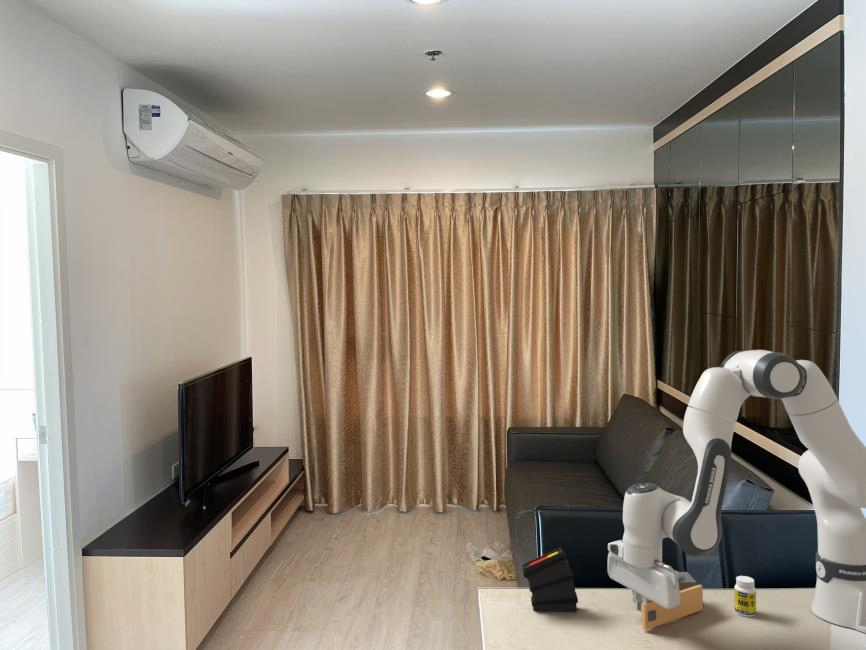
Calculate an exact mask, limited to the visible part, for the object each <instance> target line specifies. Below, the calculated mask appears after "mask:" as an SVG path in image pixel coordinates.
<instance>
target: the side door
mask: <svg viewBox="0 0 866 650" xmlns="http://www.w3.org/2000/svg"><path fill="white" fill-rule="evenodd" d="M703 597H704V595H703V584H697V585H696V586H693V587H690V588H687V589H684V590H681V591H680V604H679V605H678V606H677V607H675V608H671V609H666V608H664V607H662V606H661V605H659V604H657V603H655V602H653V601H648V602H645V603H642V612H641V613H642V617H641V618H642V620H641V623H642V630H644V631H648V630H649V629H652V628H656V627H658V626H661V625H664V624H668V623H669V622H672V621H675V620H678V619H680V618H683V617H686V616H687V617H688V616H689V615H692V614H694V613H697V612H700V611H702V610H704V609H703V608H704V606H703V604H704V603H703V602H704V601H703Z"/></svg>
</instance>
